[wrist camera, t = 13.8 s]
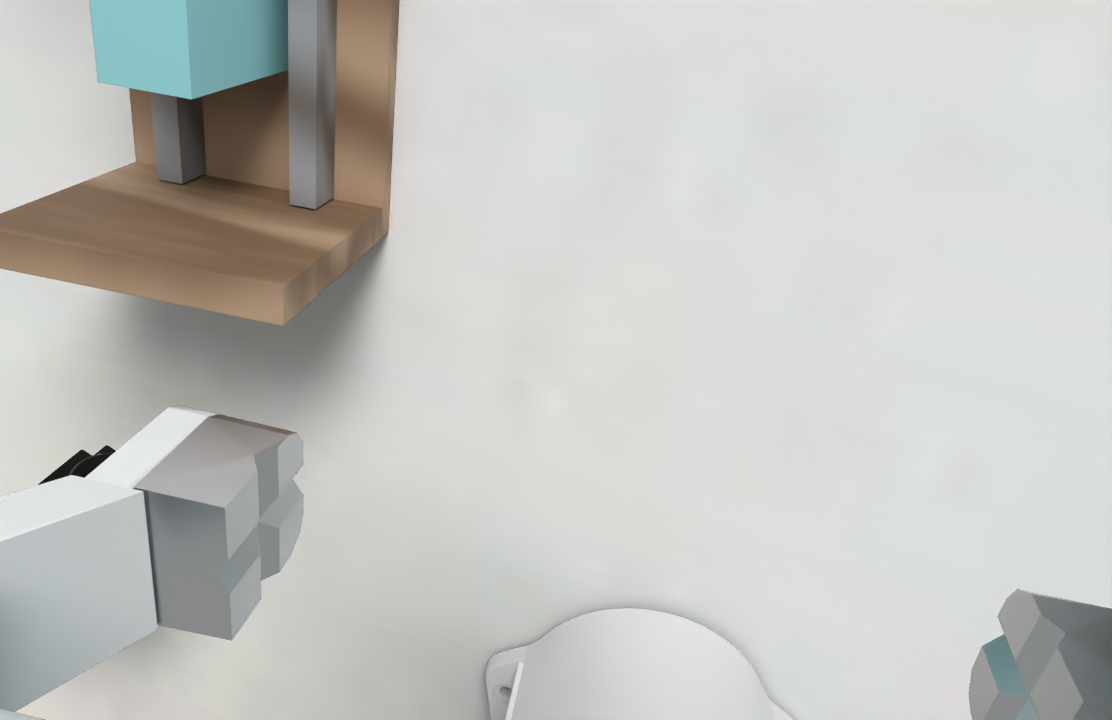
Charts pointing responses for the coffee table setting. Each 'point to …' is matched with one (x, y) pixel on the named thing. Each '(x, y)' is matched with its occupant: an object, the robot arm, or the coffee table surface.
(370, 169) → the cabinet base
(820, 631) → the coffee table surface
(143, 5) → the door panel
